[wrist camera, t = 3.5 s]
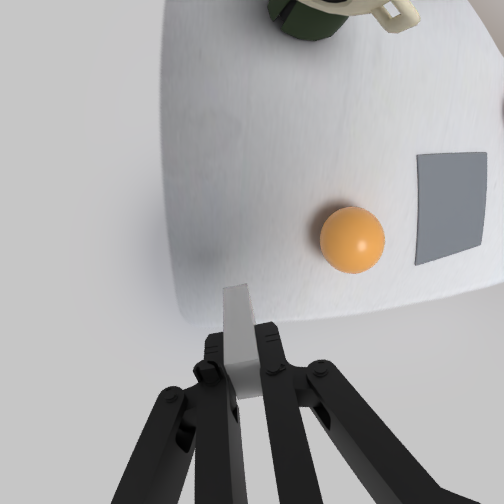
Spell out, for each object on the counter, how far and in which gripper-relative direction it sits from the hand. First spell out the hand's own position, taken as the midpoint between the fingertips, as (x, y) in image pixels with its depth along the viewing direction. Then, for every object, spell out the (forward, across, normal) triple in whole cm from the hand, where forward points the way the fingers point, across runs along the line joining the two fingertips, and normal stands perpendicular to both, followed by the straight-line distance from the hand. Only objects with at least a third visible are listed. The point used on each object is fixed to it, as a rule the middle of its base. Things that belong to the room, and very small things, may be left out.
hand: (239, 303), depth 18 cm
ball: (+5, +10, 0) cm, 11 cm away
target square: (+8, +25, 0) cm, 26 cm away
